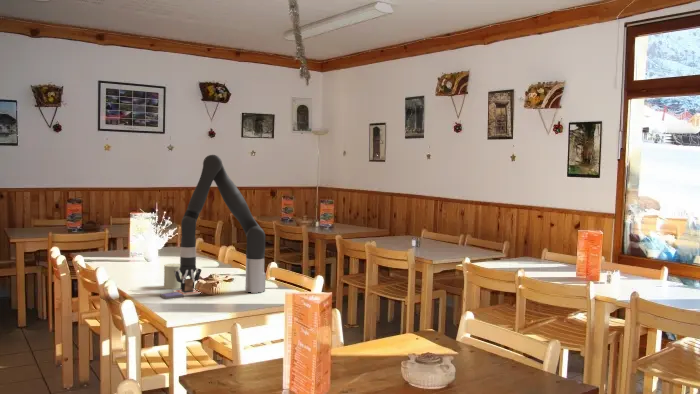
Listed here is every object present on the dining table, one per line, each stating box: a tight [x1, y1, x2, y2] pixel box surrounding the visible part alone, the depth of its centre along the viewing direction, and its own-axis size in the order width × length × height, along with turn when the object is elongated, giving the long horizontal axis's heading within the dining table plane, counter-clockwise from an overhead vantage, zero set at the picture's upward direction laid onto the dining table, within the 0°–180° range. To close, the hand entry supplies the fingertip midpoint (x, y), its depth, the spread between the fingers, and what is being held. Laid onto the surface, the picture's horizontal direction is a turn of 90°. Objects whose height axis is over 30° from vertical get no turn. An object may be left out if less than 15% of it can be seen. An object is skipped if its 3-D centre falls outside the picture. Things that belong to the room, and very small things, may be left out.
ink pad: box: [159, 292, 185, 300], centre depth 295 cm, size 9×7×1 cm
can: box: [163, 263, 182, 290], centre depth 317 cm, size 9×9×12 cm
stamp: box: [180, 278, 194, 293], centre depth 305 cm, size 4×4×6 cm
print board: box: [172, 288, 202, 296], centre depth 306 cm, size 11×10×1 cm
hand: (187, 289), depth 305 cm, fingers closed on stamp, 4 cm apart
